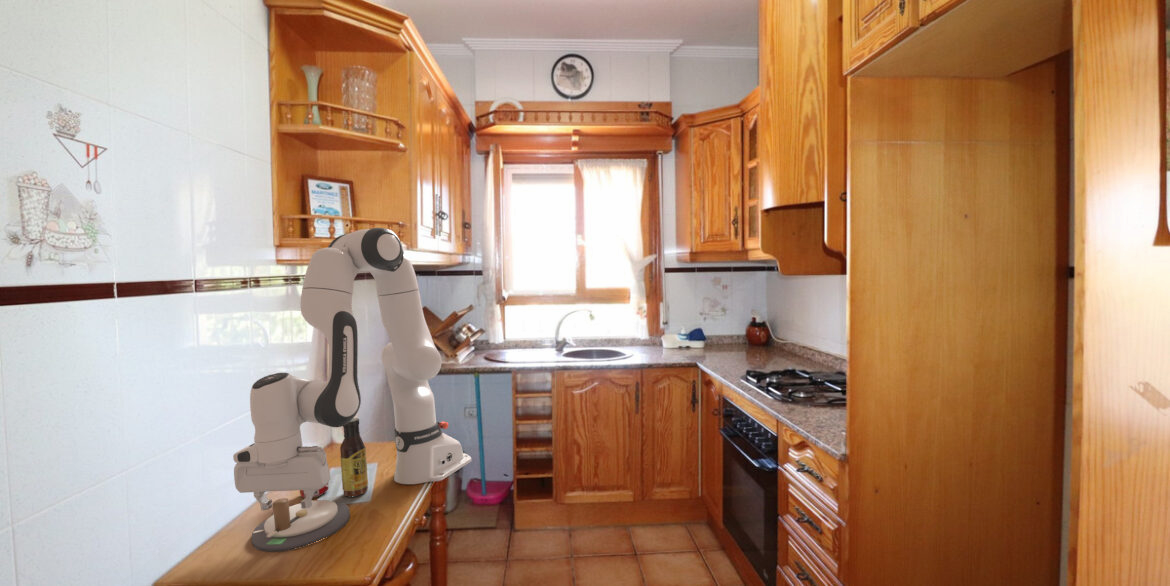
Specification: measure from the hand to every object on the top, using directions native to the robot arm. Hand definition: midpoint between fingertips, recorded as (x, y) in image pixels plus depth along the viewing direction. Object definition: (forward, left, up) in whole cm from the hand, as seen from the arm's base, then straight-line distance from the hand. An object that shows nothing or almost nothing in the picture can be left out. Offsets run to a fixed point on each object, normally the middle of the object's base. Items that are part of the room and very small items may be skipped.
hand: (286, 508), depth 113 cm
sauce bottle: (-21, -9, -8) cm, 24 cm away
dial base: (-4, -3, -7) cm, 9 cm away
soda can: (-15, -19, -8) cm, 26 cm away
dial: (-3, -3, -6) cm, 7 cm away
